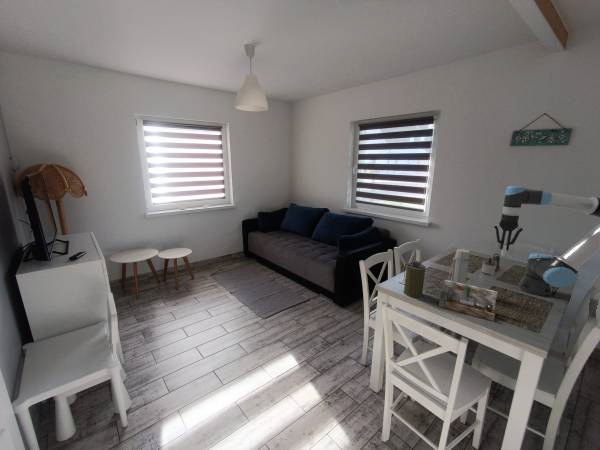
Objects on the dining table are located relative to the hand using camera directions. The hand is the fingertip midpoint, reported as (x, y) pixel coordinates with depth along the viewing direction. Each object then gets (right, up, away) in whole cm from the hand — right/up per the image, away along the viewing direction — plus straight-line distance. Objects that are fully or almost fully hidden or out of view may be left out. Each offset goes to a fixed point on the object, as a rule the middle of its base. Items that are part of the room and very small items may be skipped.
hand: (503, 255), depth 150 cm
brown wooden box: (-28, -27, -11) cm, 40 cm away
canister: (-49, -23, +5) cm, 55 cm away
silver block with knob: (-25, -26, -13) cm, 38 cm away
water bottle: (-21, -22, +11) cm, 32 cm away
